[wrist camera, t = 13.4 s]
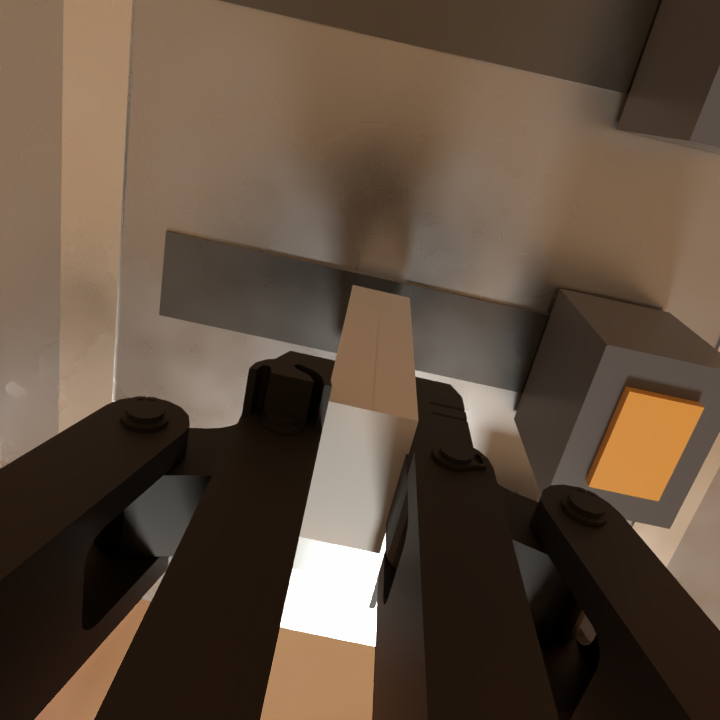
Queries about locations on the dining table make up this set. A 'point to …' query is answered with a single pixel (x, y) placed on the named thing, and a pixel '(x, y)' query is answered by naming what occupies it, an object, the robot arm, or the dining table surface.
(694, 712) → the robot arm
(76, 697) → the dining table surface
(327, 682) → the dining table surface
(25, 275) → the panel
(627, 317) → the breaker mid
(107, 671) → the dining table surface
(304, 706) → the dining table surface
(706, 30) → the breaker
